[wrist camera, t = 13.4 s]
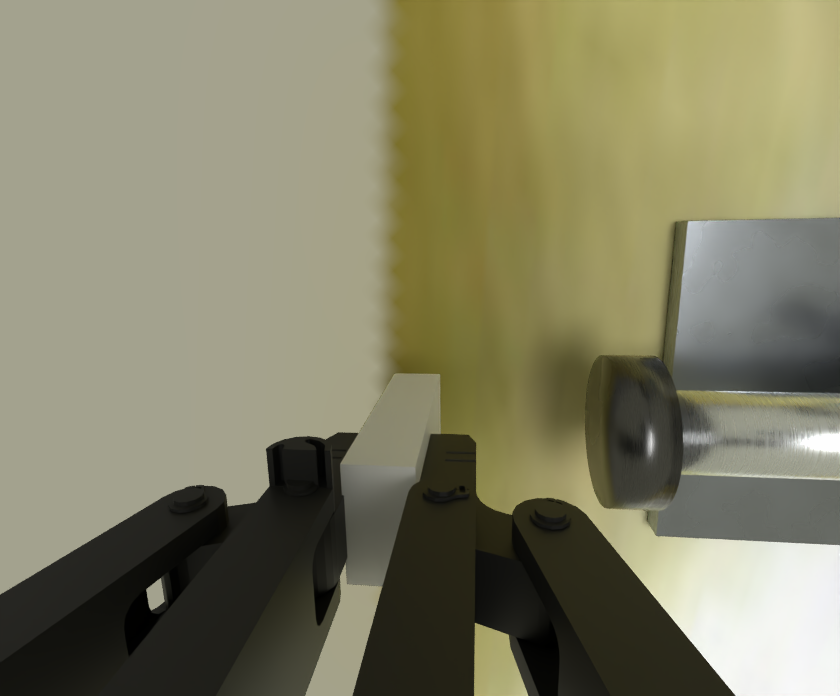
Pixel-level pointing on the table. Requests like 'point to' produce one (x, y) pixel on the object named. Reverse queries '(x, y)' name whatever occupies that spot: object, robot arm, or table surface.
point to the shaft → (697, 433)
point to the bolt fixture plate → (754, 362)
